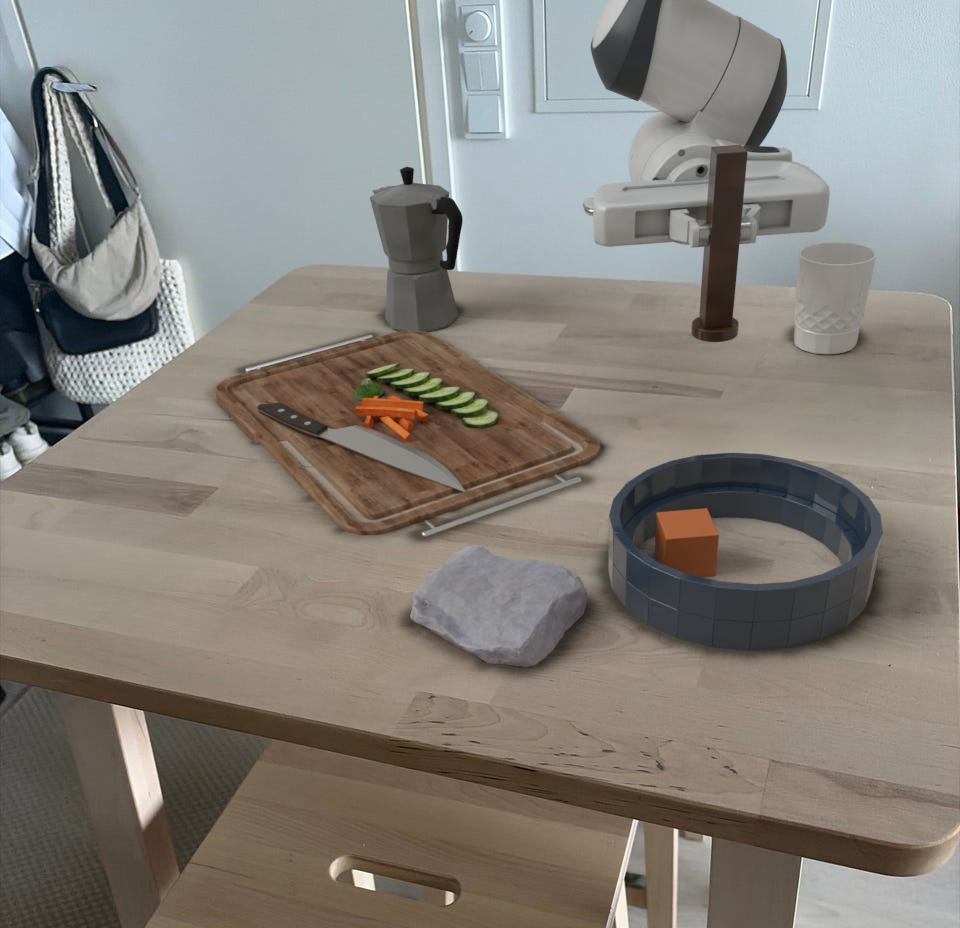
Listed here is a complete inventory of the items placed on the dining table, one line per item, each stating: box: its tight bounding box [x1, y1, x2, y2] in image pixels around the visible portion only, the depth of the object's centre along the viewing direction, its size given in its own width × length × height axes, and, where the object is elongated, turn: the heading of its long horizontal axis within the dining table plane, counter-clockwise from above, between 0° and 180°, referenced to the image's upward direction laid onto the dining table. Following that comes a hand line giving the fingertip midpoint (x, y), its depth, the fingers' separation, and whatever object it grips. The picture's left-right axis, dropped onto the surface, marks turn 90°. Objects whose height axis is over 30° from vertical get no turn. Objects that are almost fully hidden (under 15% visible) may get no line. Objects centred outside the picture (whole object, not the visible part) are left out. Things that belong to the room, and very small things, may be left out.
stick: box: [690, 145, 748, 343], centre depth 86 cm, size 4×4×15 cm
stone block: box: [409, 544, 588, 668], centre depth 77 cm, size 12×5×10 cm
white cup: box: [793, 241, 878, 355], centre depth 112 cm, size 8×8×10 cm
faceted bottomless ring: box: [607, 452, 884, 652], centre depth 78 cm, size 20×20×6 cm
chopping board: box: [214, 330, 601, 538], centre depth 105 cm, size 45×27×3 cm, turn 30°
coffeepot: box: [369, 166, 464, 333], centre depth 124 cm, size 15×9×18 cm, turn 43°
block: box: [654, 508, 720, 578], centre depth 80 cm, size 4×4×4 cm
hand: (725, 235), depth 84 cm, fingers closed on stick, 2 cm apart
